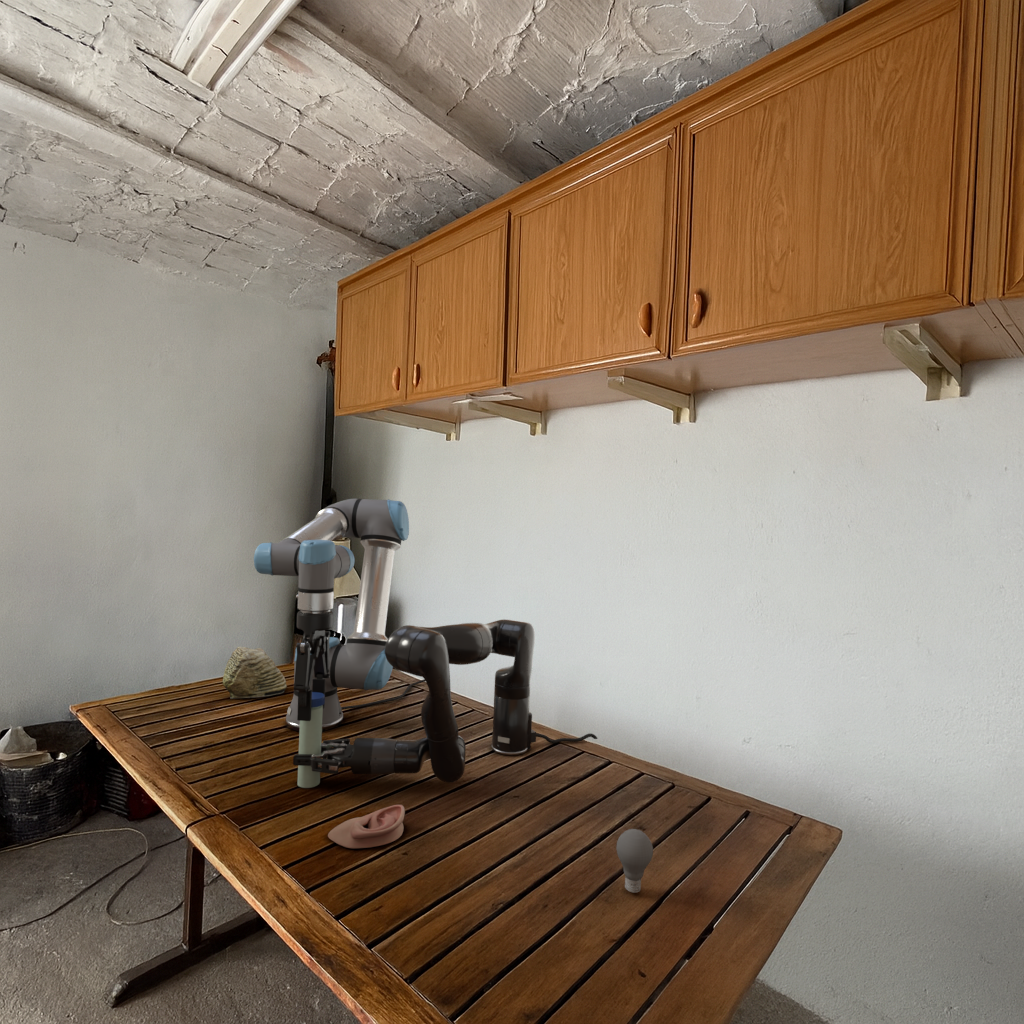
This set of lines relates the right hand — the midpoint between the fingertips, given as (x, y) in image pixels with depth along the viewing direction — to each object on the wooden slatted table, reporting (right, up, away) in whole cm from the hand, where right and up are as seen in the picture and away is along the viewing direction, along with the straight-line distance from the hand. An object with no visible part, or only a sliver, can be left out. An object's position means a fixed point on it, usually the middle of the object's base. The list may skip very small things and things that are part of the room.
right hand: (297, 754), depth 139 cm
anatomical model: (+20, -8, -20) cm, 29 cm away
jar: (+2, -6, 0) cm, 7 cm away
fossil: (-33, -4, +59) cm, 68 cm away
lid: (+3, +13, 0) cm, 13 cm away
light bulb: (+67, -10, -34) cm, 76 cm away
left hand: (+3, +9, 0) cm, 10 cm away
